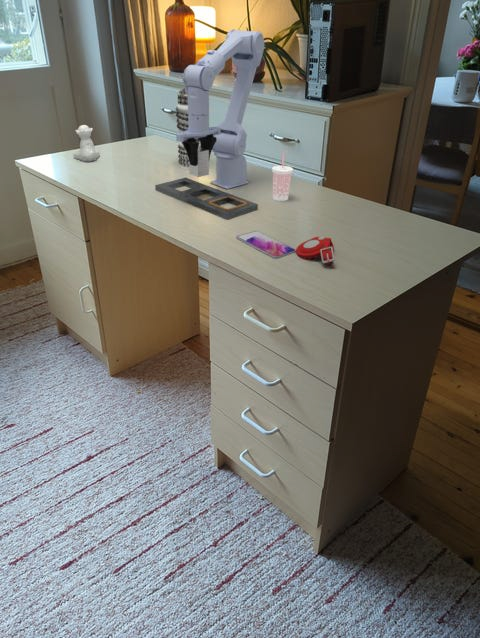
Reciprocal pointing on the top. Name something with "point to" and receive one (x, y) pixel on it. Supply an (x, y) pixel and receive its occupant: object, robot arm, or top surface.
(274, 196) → the beverage cup
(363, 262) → the top surface
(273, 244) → the smartphone
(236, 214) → the rail
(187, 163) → the decorative candle
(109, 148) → the top surface
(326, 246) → the tracker holder
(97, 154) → the white creature statuette
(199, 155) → the block
